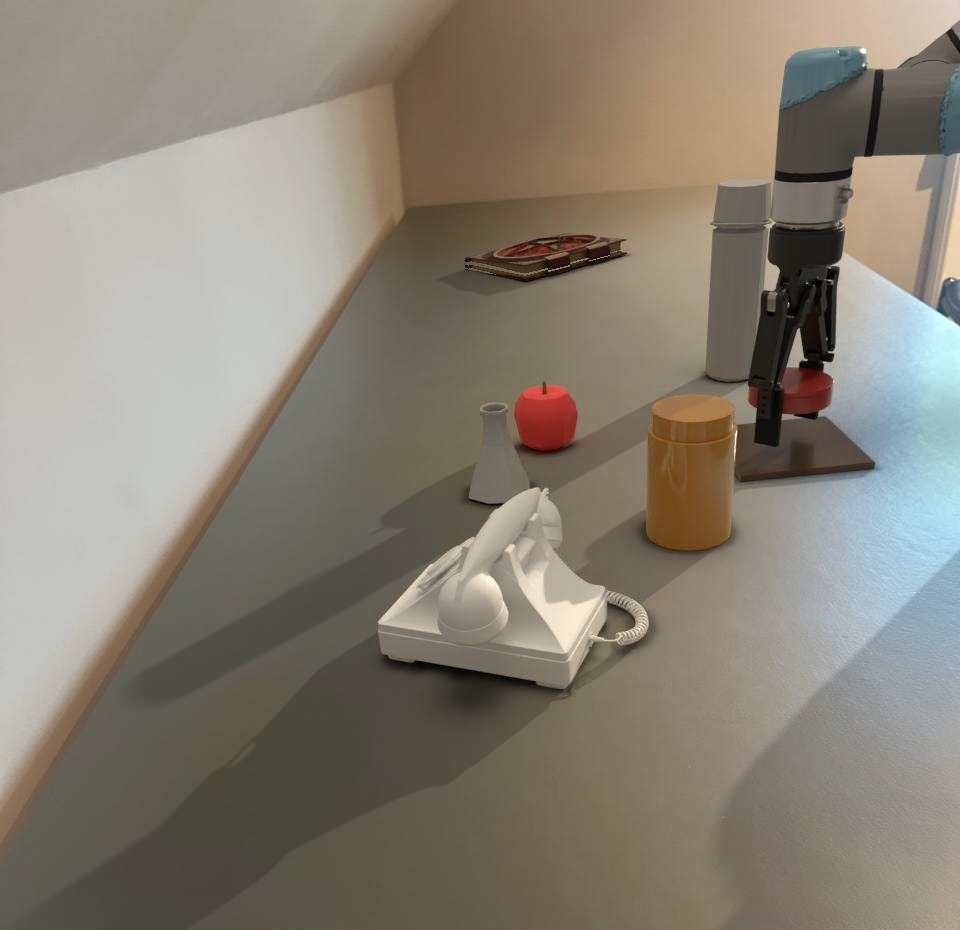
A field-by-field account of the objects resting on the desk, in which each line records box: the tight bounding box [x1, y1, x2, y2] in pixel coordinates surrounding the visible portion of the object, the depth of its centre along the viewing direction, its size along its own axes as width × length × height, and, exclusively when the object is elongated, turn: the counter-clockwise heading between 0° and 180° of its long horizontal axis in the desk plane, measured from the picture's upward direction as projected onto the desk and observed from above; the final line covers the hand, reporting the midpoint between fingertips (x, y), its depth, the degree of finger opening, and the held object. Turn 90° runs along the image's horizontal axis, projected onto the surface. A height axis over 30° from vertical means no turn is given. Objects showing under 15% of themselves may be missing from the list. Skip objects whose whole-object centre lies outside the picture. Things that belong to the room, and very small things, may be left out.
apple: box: [513, 380, 579, 453], centre depth 119 cm, size 8×8×8 cm
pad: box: [735, 415, 876, 483], centre depth 114 cm, size 15×15×1 cm
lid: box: [747, 366, 835, 415], centre depth 110 cm, size 9×9×2 cm
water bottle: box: [705, 178, 773, 383], centre depth 131 cm, size 9×8×25 cm
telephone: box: [377, 486, 649, 690], centre depth 82 cm, size 25×21×12 cm
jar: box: [645, 393, 738, 552], centre depth 95 cm, size 8×8×13 cm
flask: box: [468, 402, 531, 505], centre depth 107 cm, size 7×7×10 cm
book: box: [463, 233, 628, 282], centre depth 207 cm, size 28×21×5 cm
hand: (786, 430), depth 112 cm, fingers closed on lid, 9 cm apart
